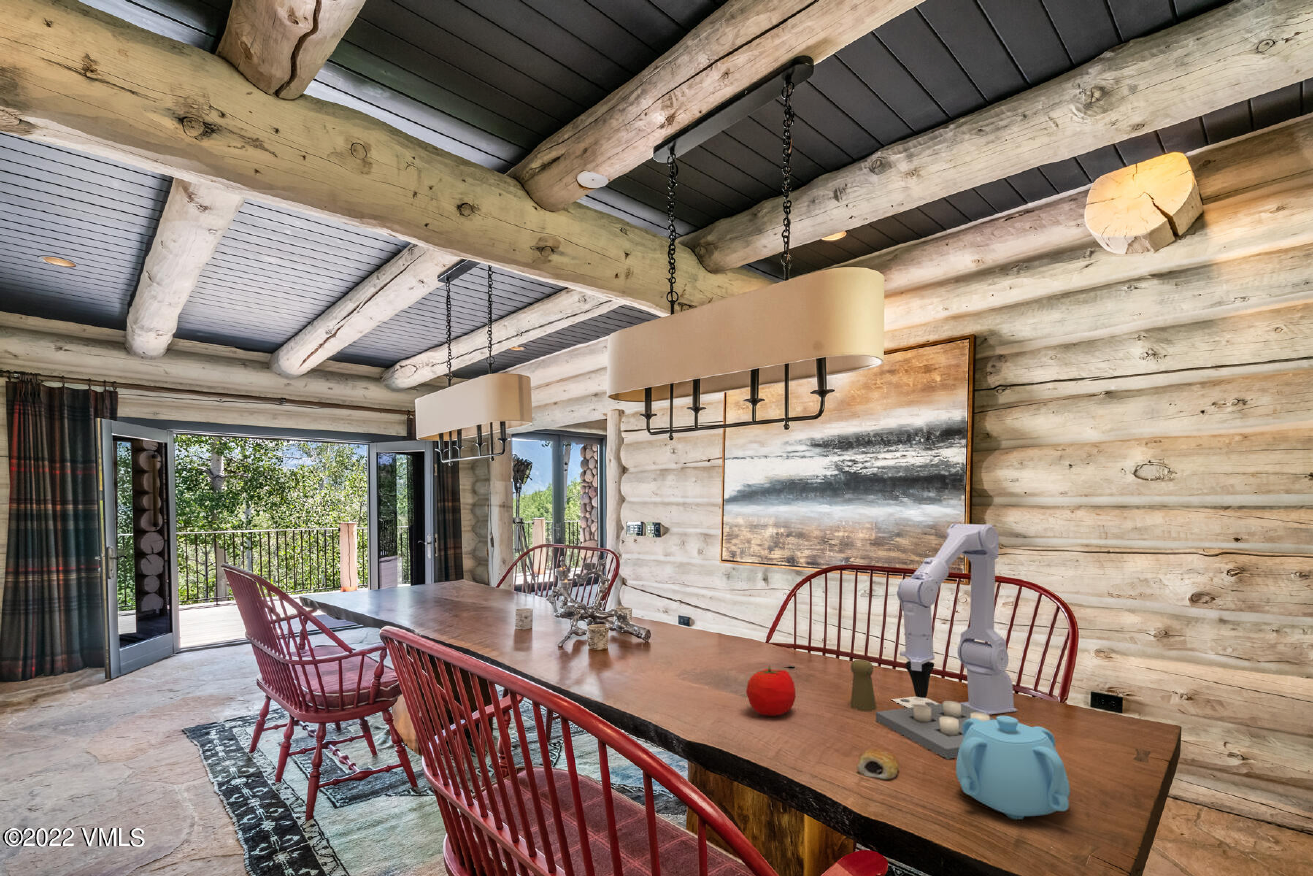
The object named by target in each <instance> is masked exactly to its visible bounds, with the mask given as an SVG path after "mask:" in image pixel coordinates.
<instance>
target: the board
mask: <svg viewBox="0 0 1313 876" xmlns="http://www.w3.org/2000/svg"><path fill="white" fill-rule="evenodd" d="M928 706H929V707H931V717H932V722H928V723H920V722H918V721H916V720H914V711H913V707H912V708H906V707H904V708H898V709H889V710H880V711H875V721H876V722H877V723H879V722H880V723H879V724H881V725H882V724H883V725H882V726H884V725H885V726H884V727H886V726H887V727H886V728H888V727H889V728H888V729H889V730H891V729H892V730H891V731H893V730H894V731H893V732H895V731H896V733H897V734H899V733H900V734H899V735H900V736H902V735H904V736H905V737H904V736H903V737H904V738H906V737H907V738H906V739H908V738H909V739H908V740H910V739H911V740H910V741H912V742H913V741H915V742H916V743H915V742H914V743H915V744H917V743H919V744H920V745H919V744H918V745H919V746H921V745H922V746H921V747H923V746H924V747H926V748H927V749H926V748H925V749H926V750H928V749H930V750H931V751H930V750H929V751H930V752H932V751H933V752H932V753H934V752H935V753H937V754H939V755H941V756H942V757H941V756H940V757H941V758H943V757H945V758H946V759H950V758H955V757H957V756H958V752H959V748H960V746H961V743H962V741H963V739H964V737H963V732H962V725H963V723H964V721H966V720H968V719H971V715H970V714H971V713H974V712H977V711H975V710H972V709H970V708H968V707H965V706H963V705H961V716H962V718H958V722H959V735H958V736H951V737H948V736H946V735H944V734H942V733H940V721H939V718H940V717H943V716H944V710H943V703H939V704H936V705H928ZM978 713H980V712H978ZM990 720H996V718H994V717H991V716H990ZM924 747H923V748H924ZM935 753H934V754H935ZM937 754H936V755H937ZM939 755H938V756H939ZM945 758H944V759H945ZM946 759H945V760H946ZM950 760H951V759H950Z"/></svg>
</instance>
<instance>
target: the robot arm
mask: <svg viewBox="0 0 1313 876" xmlns="http://www.w3.org/2000/svg"><path fill="white" fill-rule="evenodd" d="M945 533H946V534H945V535H946V536H945V537H946V540H945V541H944V543H943V544H942V545H941V547H940V548H939V550H938V551H937V553H936V555H935V556H933V557H932V556H931V557H926V558H924V560H923V562H922V564H921V565H920V566H919V567H918V569H916V570H915V572H914V573H913V574H912V575H911V576H910V577H908V578H906V577H905V578H904V579H903V580H901V581H900V582H899V584H898V586H897V590H896V595H897V598H898V601H899V602H900V609H901V611H902V612H903V625H904V627H903V628H904V648H905V651H904V650H901V651H900V652H899V656H900V657H904V658H906V659H907V660H908V661H906V662H905V664H904V665H905V668H906V670H907V672H908V674H909V676H910V679H911V682H912V686H913V691H914V695H915V697H920V698H928V692H929V686H930V684H929V683H930V678H931V674H932V671H933V670H934V667H935V663H934V662H933V661H934V660H935V654H934V641H933V638H934V637H933V622H932V618H933V617H932V606H933V605H934V604H935V603H936V601H937V595H938V593H939V589H940V588H939V587H940V586H941V585H942V584H943V582H944V581H945V580H946V579H947V577H948V576H949V574H950V569H949V567H950V566H951V565H952V564H953V563H954V561H956V560H957V558H959V557H960V556H961V555H962V556H963V557H966V558H967V559H968V561H969V562H970V564H971V566H970V567H971V568H970V569H971V570H970V572H971V573H970V609H969V610H970V615H969V616H970V617H969V620H970V621H969V628H968V627H967V629H965V630H964V631H962V632H961V633H960V638H959V644H958V646H957V649H956V650H957V657H958V660H959V662H960V663H961V664H962V665H963V668H964V669H965V670H966V677H967V678H966V679H967V694H968V697H967V698H968V701H964V702H963V701H962V702H959V703H960V704H961V705H963V706H965V707H968V708H970V709H972V710H975V711H977V712H980V713H984V714H987V715H989V716H990V715H996V714H1003V713H1004V714H1006V713H1010V712H1011V713H1012V712H1017V711H1018V709H1017V708H1015V706H1014V705H1015V704H1014V703H1015V701H1014V691H1013V690H1014V689H1013V687H1014V686H1013V681H1012V678H1011V677H1010V675H1009V673H1008V672H1007V671H1006V669H1007V667H1008V665H1009V661H1010V659H1009V654H1008V651H1007V641H1006V639H1004V638H1003V636H1002V635H1000V634H999V633H998V632H997V631H996V630H995V600H996V599H995V591H996V589H995V587H996V560H997V559H998V558H999V552H1000V551H999V550H1000V549H999V547H1000V543H999V541H1000V540H999V537H1000V536H999V534H998V532H997V530H996V528H995V527H994V526H993V525H992V524H990V523H986V524H975V523H974V524H973V523H957V522H953V523H952V524H951V525H950V526H949V527H948V529H947V530H946V531H945Z"/></svg>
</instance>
